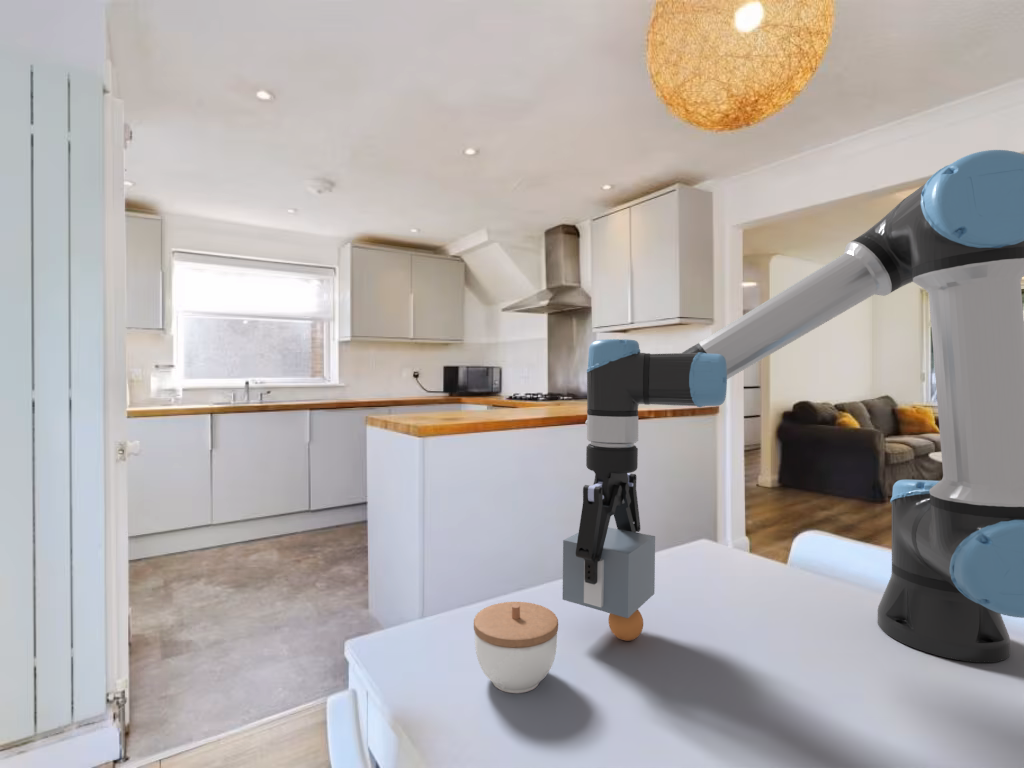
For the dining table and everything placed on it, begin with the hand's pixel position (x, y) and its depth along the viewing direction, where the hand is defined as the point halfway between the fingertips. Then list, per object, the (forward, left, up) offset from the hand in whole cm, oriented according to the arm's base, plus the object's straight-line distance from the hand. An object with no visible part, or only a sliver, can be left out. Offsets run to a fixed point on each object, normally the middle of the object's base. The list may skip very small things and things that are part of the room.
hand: (609, 591), depth 79 cm
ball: (-3, 0, -4) cm, 5 cm away
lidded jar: (+5, +18, -7) cm, 20 cm away
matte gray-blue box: (0, 0, -1) cm, 1 cm away
